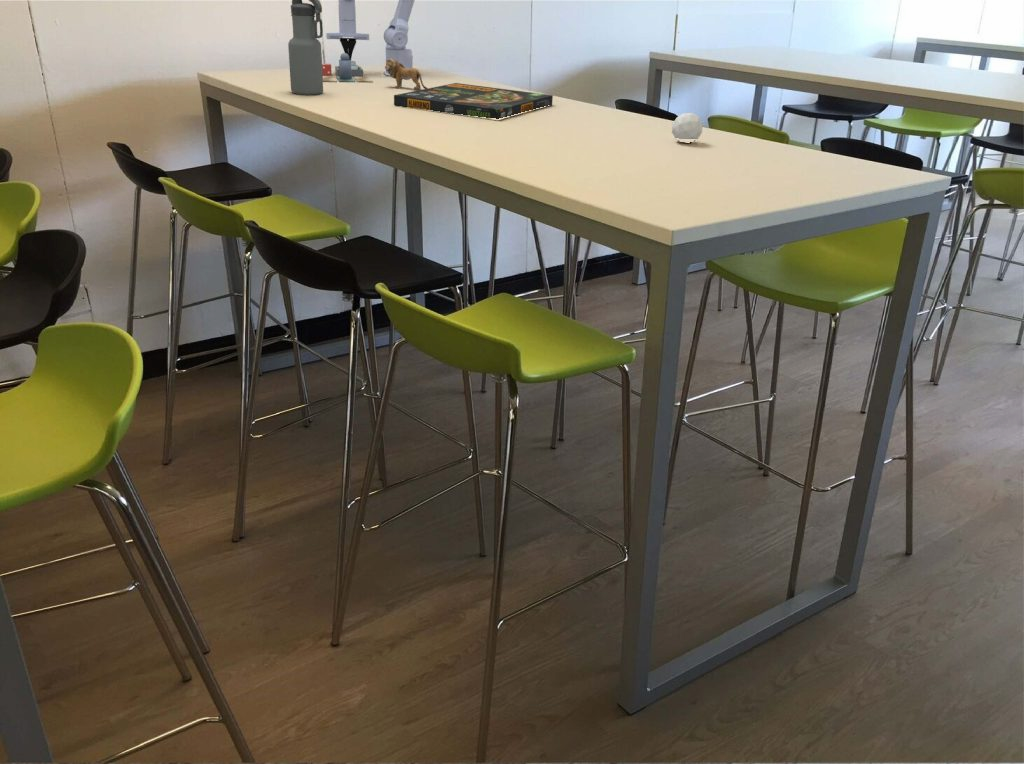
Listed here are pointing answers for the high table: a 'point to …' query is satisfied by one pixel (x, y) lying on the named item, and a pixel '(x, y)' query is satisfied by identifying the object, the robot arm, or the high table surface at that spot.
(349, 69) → the pawn
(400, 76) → the lion figurine
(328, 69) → the red die
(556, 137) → the high table surface
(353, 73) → the dome frame
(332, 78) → the track
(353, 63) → the dome
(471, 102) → the board game box
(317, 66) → the water bottle
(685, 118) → the geometric ball
